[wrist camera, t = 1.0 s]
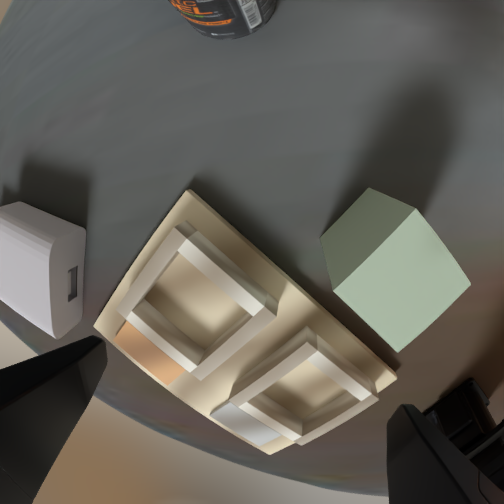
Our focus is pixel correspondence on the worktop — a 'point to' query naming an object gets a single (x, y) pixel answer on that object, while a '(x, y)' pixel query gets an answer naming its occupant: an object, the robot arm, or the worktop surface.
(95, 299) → the worktop surface
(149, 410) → the worktop surface
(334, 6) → the worktop surface
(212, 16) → the pill bottle
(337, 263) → the plug
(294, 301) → the socket board
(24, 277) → the charger
